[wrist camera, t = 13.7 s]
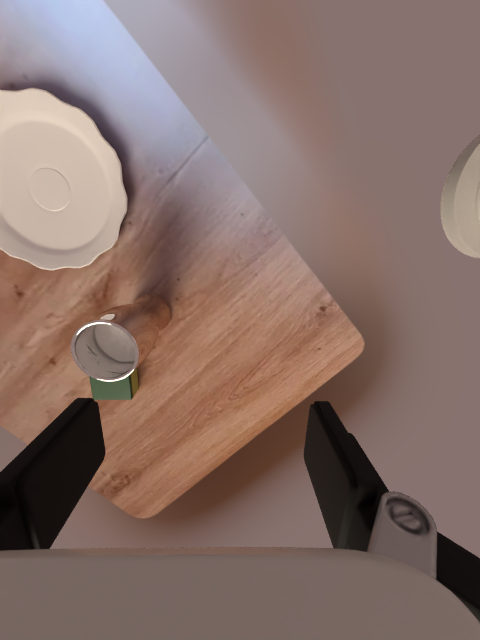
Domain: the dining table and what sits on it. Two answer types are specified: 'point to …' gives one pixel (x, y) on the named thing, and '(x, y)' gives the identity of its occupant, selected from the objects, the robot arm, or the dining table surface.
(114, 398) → the sponge
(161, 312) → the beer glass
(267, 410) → the dining table surface
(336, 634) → the robot arm
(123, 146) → the dining table surface
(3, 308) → the dining table surface
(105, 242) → the plate
